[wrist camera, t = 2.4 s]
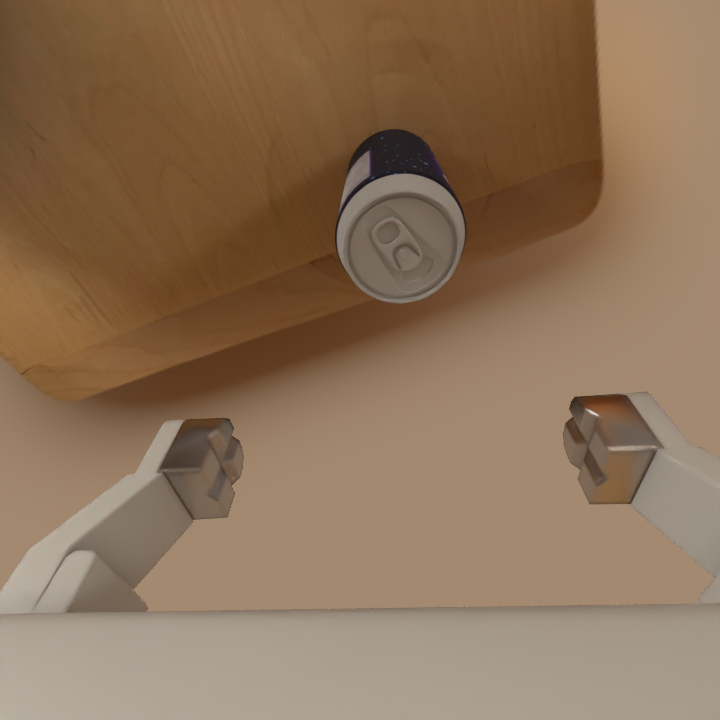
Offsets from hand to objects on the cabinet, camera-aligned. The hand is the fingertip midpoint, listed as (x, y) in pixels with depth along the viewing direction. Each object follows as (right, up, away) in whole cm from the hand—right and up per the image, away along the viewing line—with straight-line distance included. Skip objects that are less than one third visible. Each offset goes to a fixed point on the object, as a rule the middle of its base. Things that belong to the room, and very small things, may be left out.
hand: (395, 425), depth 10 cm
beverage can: (+1, +13, +17) cm, 21 cm away
